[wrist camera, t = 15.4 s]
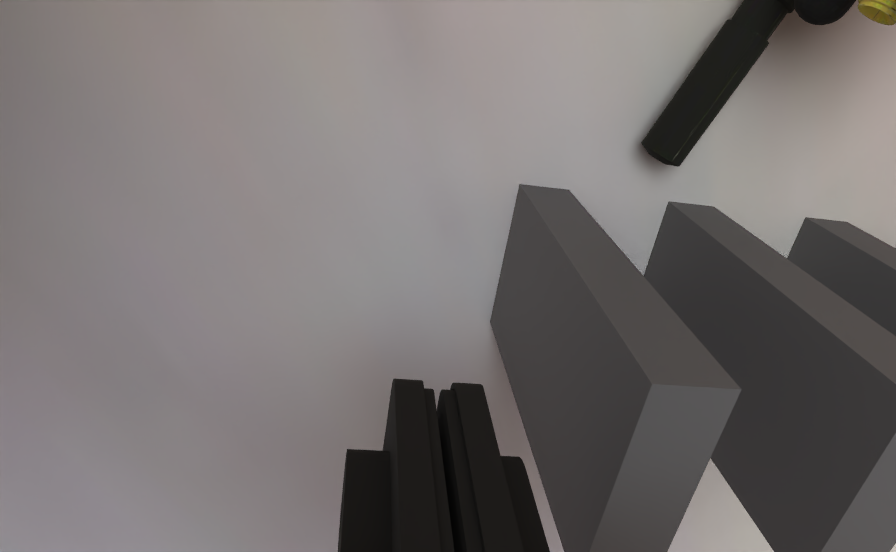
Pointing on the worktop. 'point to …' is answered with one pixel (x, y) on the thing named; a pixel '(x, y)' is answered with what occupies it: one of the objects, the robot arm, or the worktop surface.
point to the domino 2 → (788, 385)
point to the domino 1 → (603, 380)
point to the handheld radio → (738, 67)
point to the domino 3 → (850, 266)
